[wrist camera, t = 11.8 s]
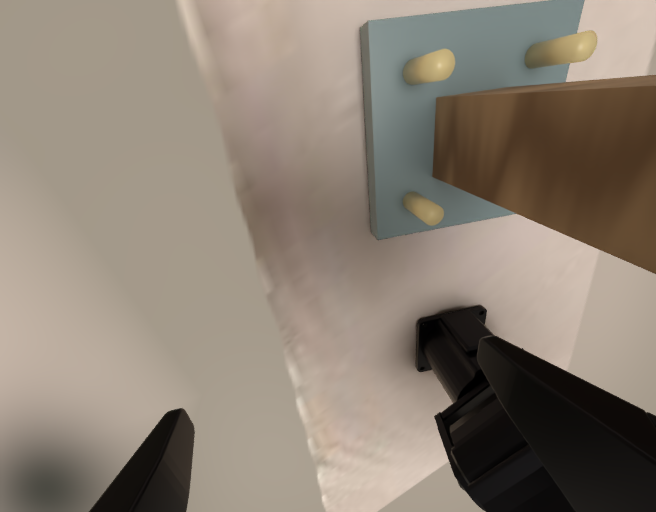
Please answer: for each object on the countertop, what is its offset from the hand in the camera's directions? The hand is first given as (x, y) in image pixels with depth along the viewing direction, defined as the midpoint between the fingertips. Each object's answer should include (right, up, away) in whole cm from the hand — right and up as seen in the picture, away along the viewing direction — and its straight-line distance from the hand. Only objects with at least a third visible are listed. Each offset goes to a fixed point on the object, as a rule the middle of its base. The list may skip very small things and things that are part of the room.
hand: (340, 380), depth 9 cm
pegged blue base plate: (+8, +12, +10) cm, 18 cm away
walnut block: (+8, +11, +9) cm, 17 cm away
